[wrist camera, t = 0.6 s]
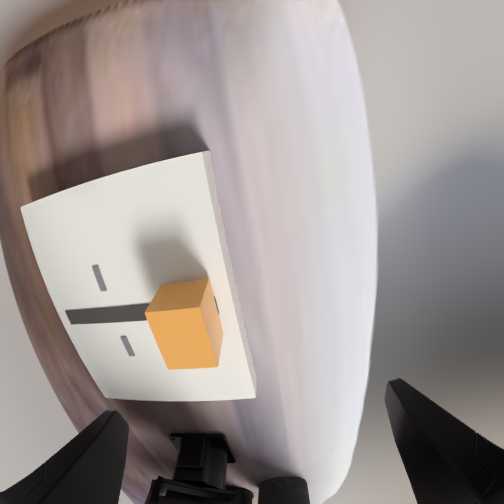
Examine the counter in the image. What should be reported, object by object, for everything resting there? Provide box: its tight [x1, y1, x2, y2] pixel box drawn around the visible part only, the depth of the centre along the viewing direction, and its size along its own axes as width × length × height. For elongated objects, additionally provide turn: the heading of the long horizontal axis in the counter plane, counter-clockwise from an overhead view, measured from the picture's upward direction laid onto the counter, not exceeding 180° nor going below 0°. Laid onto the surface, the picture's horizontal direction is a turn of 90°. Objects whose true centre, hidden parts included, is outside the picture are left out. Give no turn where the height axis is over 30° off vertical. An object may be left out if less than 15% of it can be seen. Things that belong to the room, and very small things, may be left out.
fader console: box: [20, 150, 256, 401], centre depth 19 cm, size 18×14×3 cm
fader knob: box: [145, 278, 224, 370], centre depth 16 cm, size 4×3×3 cm
